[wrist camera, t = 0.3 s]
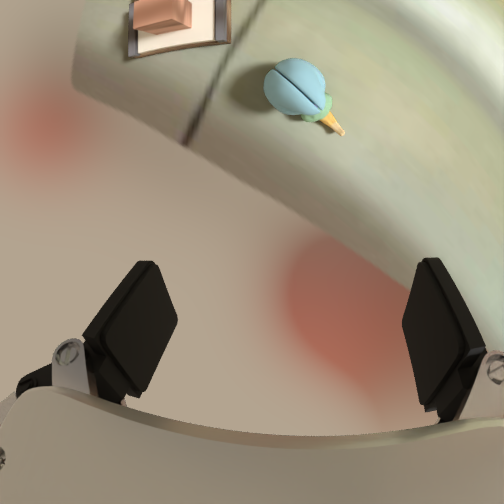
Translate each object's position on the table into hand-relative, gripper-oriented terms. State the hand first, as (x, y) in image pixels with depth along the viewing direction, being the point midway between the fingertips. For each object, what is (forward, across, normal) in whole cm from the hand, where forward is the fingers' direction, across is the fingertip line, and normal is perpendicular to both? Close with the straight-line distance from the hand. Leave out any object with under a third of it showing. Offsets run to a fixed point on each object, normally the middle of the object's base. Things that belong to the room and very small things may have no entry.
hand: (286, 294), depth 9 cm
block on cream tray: (+29, +14, -20) cm, 37 cm away
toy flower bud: (+30, -2, -6) cm, 31 cm away
